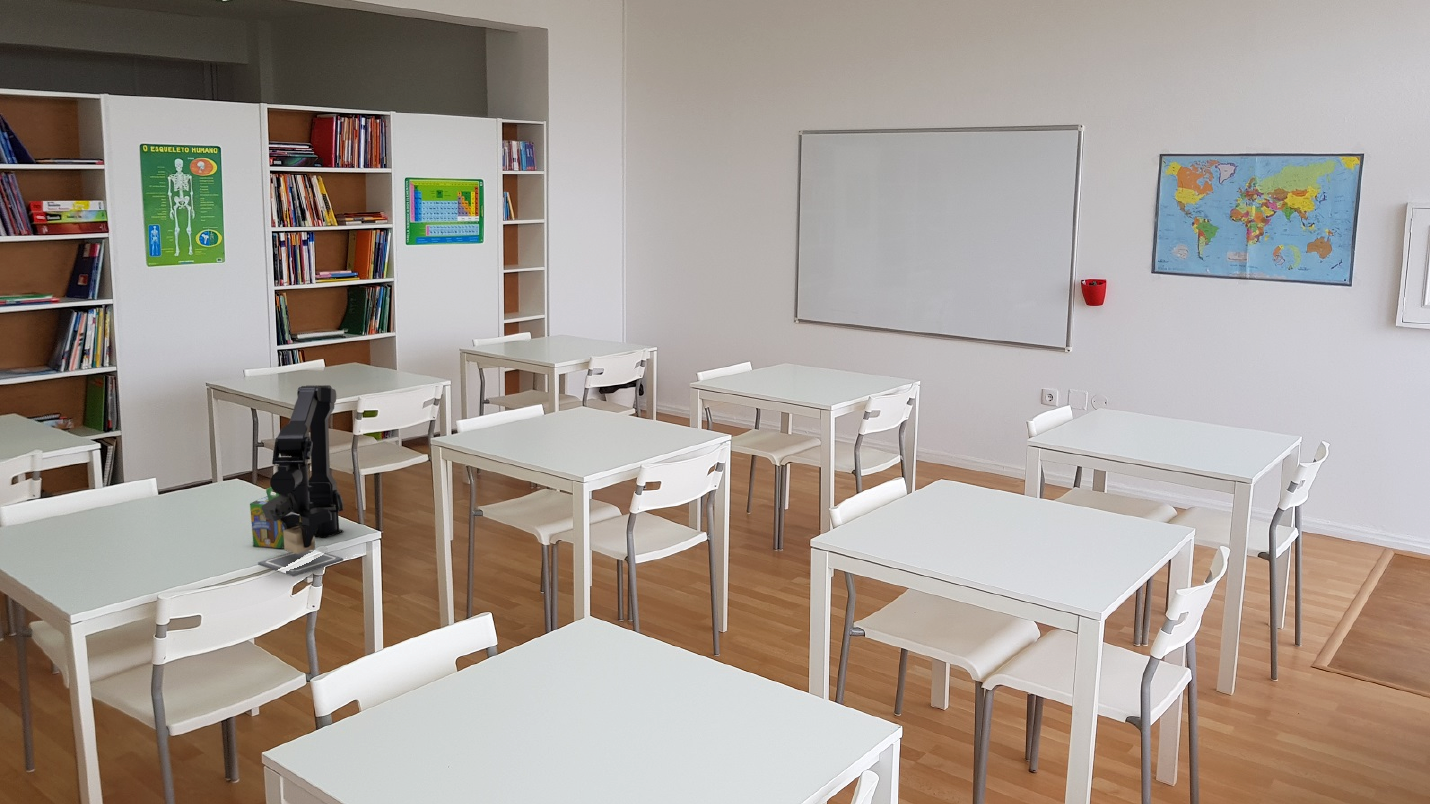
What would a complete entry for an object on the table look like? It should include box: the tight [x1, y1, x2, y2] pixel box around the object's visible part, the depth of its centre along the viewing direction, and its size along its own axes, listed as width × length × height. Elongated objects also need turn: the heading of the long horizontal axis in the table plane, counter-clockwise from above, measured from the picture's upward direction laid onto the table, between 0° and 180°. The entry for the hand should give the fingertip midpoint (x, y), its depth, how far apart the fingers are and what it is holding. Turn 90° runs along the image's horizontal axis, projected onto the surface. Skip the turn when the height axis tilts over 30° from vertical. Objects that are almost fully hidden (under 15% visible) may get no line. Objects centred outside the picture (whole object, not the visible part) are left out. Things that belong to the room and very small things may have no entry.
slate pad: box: [257, 548, 344, 577], centre depth 271 cm, size 14×14×1 cm
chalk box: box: [249, 486, 301, 550], centre depth 284 cm, size 9×9×15 cm
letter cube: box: [283, 526, 316, 554], centre depth 270 cm, size 5×5×5 cm
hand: (300, 545), depth 270 cm, fingers closed on letter cube, 5 cm apart
